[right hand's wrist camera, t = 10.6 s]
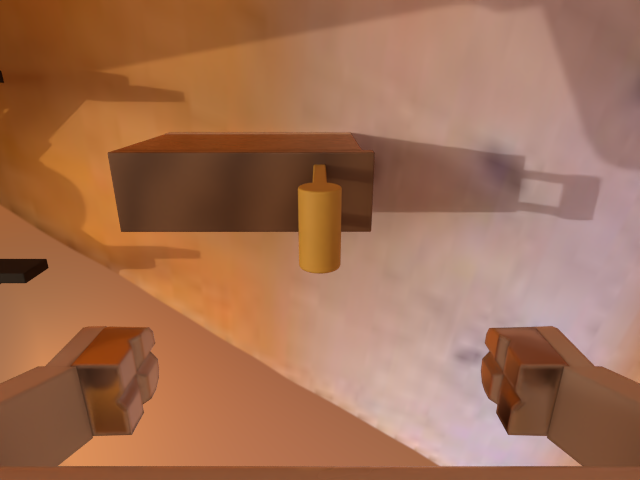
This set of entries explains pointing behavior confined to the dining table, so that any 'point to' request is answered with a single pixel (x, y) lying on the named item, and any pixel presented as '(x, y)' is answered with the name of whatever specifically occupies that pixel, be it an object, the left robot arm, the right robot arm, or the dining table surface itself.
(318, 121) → the dining table surface
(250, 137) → the chest
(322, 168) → the lid
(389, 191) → the dining table surface
